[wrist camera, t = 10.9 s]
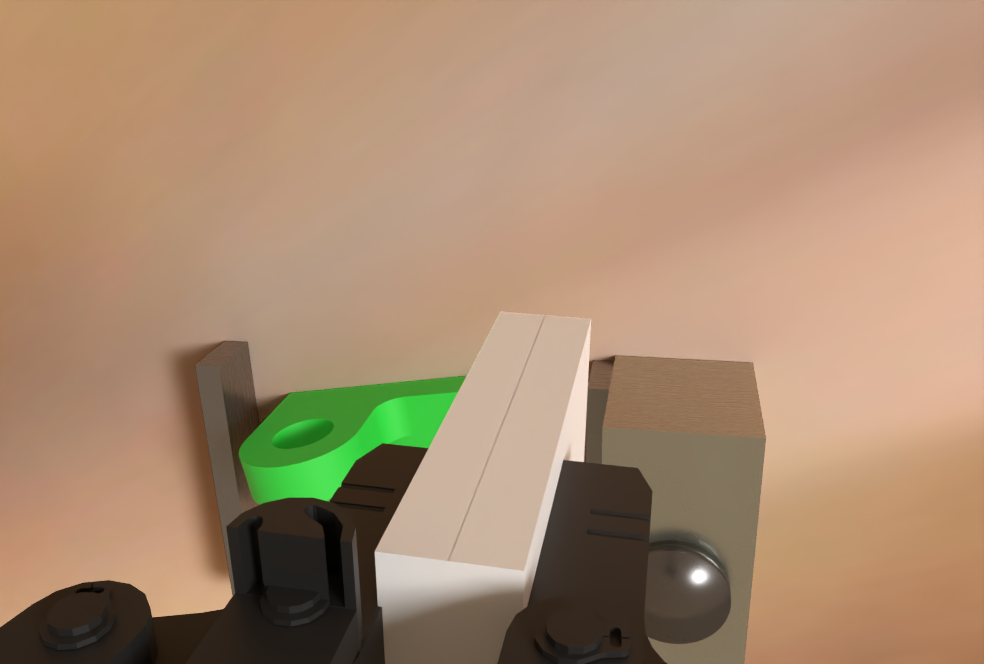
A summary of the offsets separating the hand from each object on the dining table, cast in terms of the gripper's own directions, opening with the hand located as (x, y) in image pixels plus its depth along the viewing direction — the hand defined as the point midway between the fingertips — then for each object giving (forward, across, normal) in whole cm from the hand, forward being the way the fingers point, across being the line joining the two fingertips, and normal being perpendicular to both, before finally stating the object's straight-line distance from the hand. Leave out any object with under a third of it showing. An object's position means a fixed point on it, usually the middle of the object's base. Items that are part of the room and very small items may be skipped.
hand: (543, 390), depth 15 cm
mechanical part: (+24, -10, -15) cm, 30 cm away
